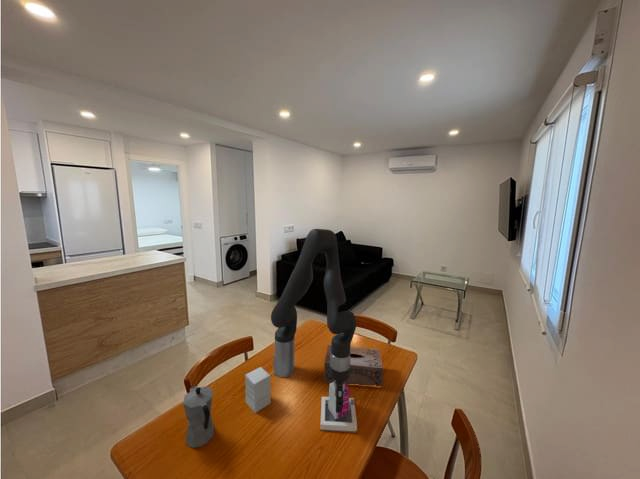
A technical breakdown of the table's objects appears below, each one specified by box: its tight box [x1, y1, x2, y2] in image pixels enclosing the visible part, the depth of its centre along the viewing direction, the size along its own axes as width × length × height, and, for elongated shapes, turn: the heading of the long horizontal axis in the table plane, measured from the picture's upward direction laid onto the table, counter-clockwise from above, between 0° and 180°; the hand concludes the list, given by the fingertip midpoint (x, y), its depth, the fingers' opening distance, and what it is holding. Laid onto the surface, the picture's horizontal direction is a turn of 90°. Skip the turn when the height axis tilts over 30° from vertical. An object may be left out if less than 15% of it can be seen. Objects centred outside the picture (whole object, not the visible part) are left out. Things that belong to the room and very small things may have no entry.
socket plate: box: [319, 396, 358, 433], centre depth 95 cm, size 13×13×3 cm
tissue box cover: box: [323, 344, 384, 387], centre depth 119 cm, size 26×14×10 cm, turn 83°
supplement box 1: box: [244, 366, 272, 414], centre depth 100 cm, size 7×7×13 cm
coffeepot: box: [182, 385, 215, 449], centre depth 84 cm, size 15×9×18 cm, turn 43°
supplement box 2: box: [328, 382, 351, 420], centre depth 95 cm, size 6×6×12 cm
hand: (338, 403), depth 95 cm, fingers closed on supplement box 2, 7 cm apart
